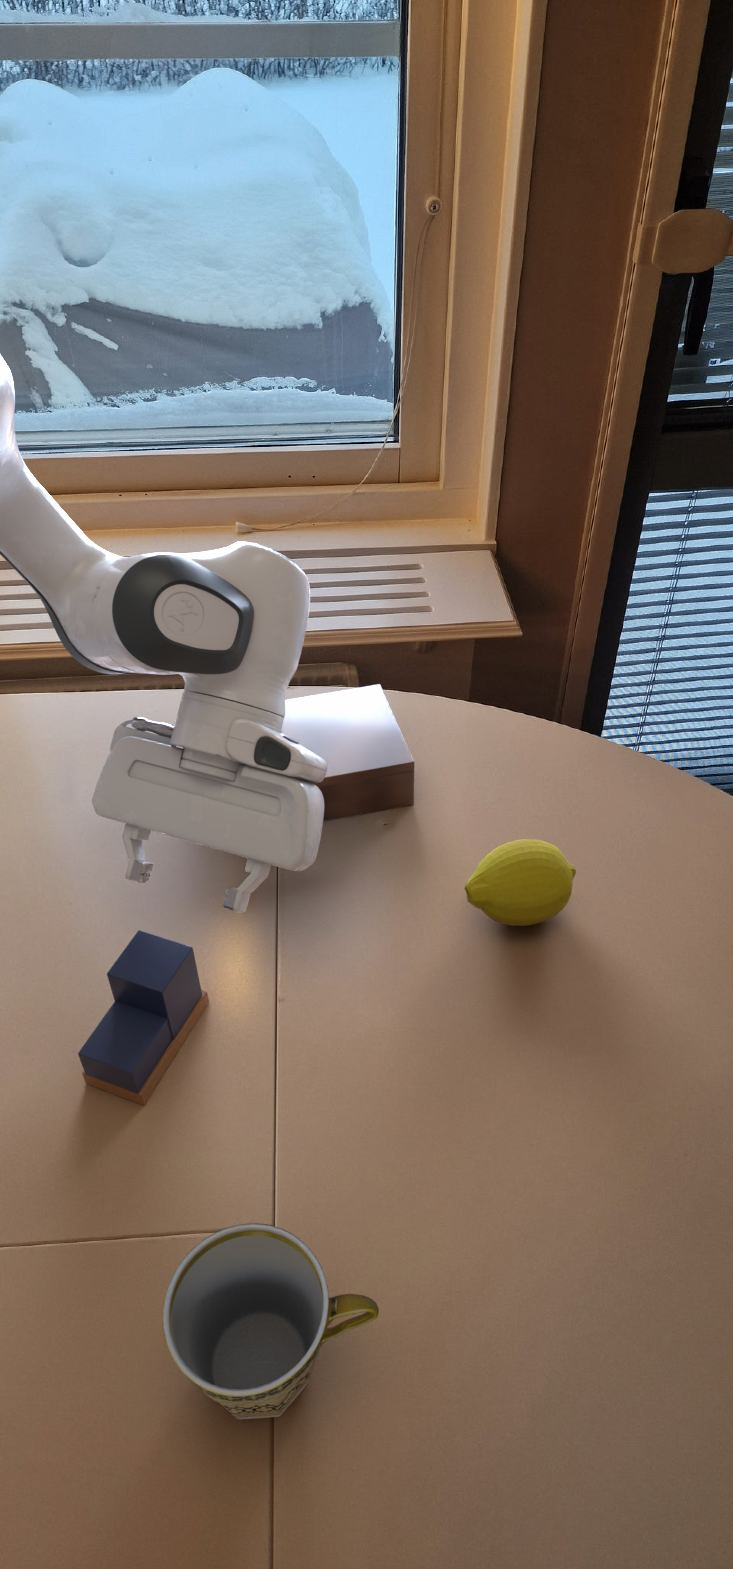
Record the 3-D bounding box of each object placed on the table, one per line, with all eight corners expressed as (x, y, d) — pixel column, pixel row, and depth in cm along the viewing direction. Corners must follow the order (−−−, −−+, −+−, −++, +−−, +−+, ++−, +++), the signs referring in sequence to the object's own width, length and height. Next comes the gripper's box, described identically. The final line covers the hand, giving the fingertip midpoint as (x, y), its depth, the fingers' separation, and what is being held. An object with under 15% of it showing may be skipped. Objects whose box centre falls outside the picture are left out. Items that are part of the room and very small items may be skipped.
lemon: (560, 874, 102) (569, 815, 96) (584, 935, 96) (596, 875, 91) (452, 888, 101) (455, 829, 95) (470, 950, 95) (475, 891, 90)
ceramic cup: (178, 1456, 65) (154, 1400, 58) (190, 1293, 72) (170, 1226, 66) (384, 1443, 65) (383, 1386, 59) (375, 1282, 73) (373, 1215, 66)
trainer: (144, 1105, 84) (127, 1048, 78) (85, 1083, 85) (65, 1025, 80) (209, 1001, 91) (198, 943, 86) (154, 983, 93) (139, 924, 87)
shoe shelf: (226, 839, 106) (220, 796, 102) (208, 755, 117) (202, 712, 113) (413, 804, 110) (414, 761, 106) (380, 725, 120) (380, 683, 116)
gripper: (101, 706, 88) (60, 863, 88) (321, 760, 82) (278, 930, 82) (137, 717, 94) (99, 864, 94) (345, 769, 88) (304, 926, 88)
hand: (184, 895), depth 88 cm, fingers open, 8 cm apart
